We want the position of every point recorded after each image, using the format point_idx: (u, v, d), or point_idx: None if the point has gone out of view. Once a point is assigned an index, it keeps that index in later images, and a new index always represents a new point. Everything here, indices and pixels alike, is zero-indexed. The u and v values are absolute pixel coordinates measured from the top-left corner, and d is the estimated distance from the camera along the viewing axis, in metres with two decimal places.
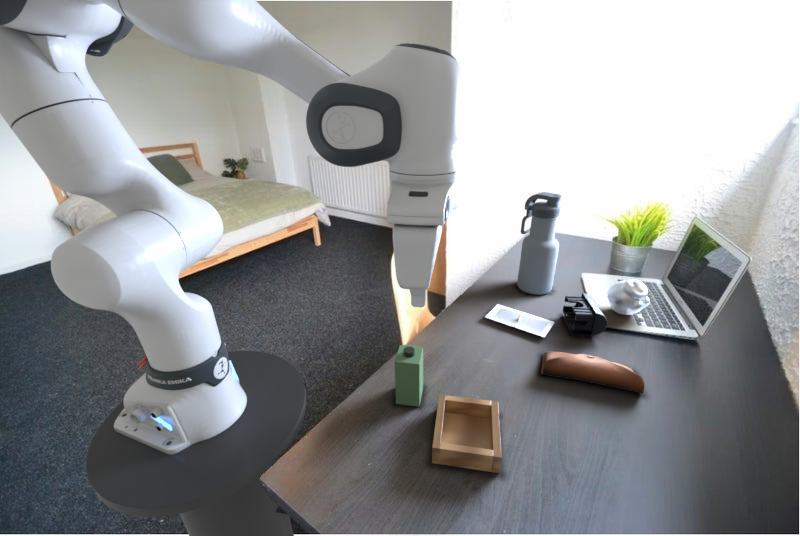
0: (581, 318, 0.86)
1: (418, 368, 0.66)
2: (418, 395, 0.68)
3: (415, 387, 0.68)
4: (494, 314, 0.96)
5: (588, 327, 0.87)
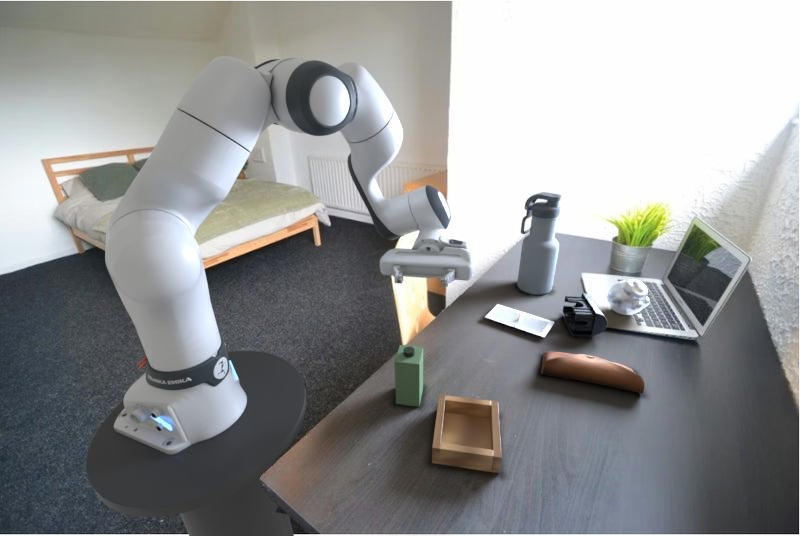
0: (581, 318, 0.86)
1: (418, 368, 0.66)
2: (418, 395, 0.68)
3: (415, 387, 0.68)
4: (494, 314, 0.96)
5: (588, 327, 0.87)
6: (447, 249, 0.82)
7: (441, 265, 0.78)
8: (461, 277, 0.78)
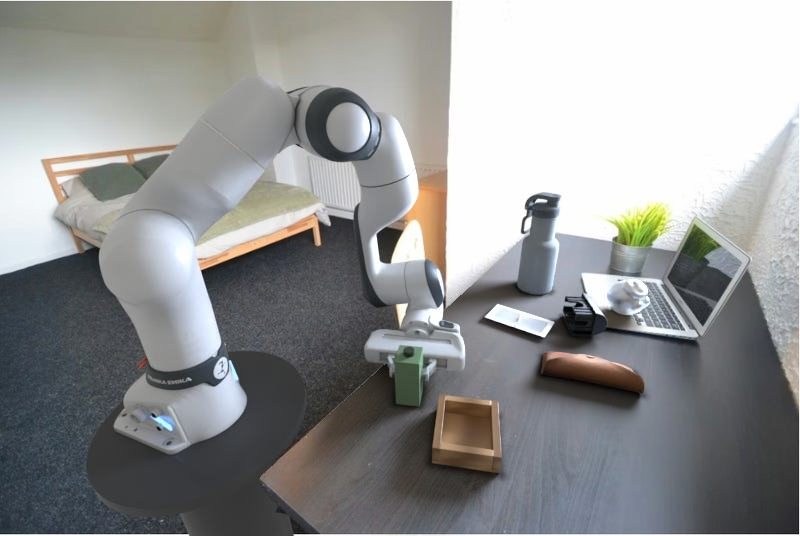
0: (581, 318, 0.86)
1: (418, 368, 0.66)
2: (418, 395, 0.68)
3: (415, 387, 0.68)
4: (494, 314, 0.96)
5: (588, 327, 0.87)
6: (437, 333, 0.77)
7: (431, 355, 0.72)
8: (452, 368, 0.72)
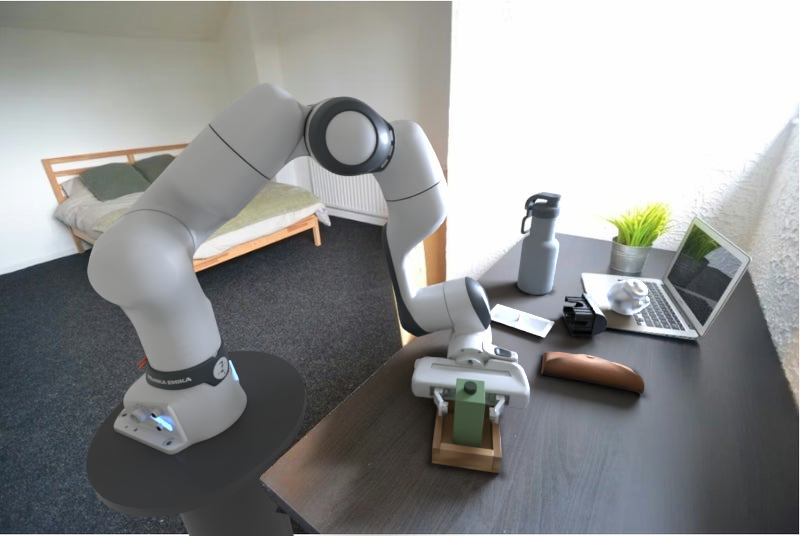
0: (581, 318, 0.86)
1: (483, 408, 0.56)
2: (480, 437, 0.59)
3: (478, 428, 0.58)
4: (494, 314, 0.96)
5: (588, 327, 0.87)
6: (493, 363, 0.68)
7: (491, 391, 0.63)
8: (515, 405, 0.63)
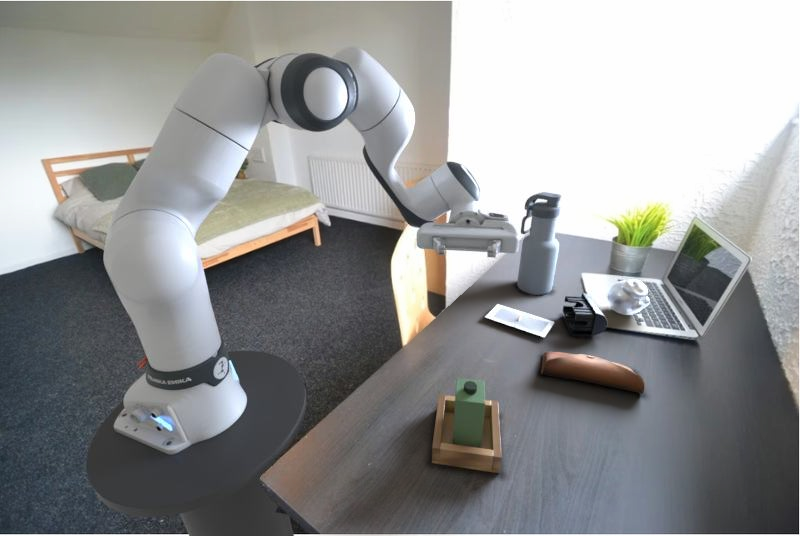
0: (581, 318, 0.86)
1: (483, 408, 0.56)
2: (480, 437, 0.59)
3: (478, 428, 0.58)
4: (494, 314, 0.96)
5: (588, 327, 0.87)
6: (488, 222, 0.77)
7: (485, 236, 0.72)
8: (506, 249, 0.72)
